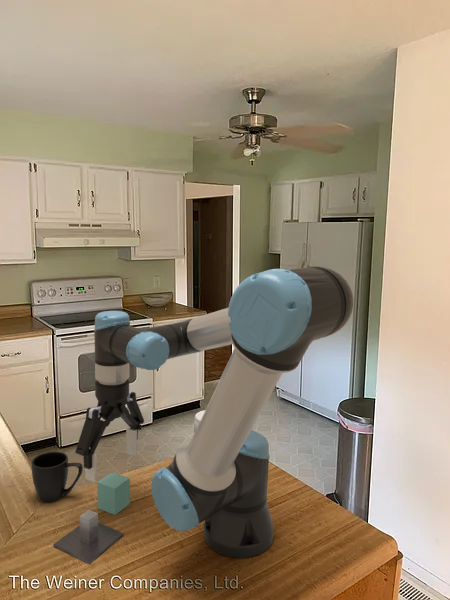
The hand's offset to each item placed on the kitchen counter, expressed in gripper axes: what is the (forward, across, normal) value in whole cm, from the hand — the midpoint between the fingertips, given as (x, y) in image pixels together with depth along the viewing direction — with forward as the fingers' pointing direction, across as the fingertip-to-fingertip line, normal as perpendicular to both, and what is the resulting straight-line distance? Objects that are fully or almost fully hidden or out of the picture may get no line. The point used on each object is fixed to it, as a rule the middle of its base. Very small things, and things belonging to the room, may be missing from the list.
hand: (112, 466), depth 110 cm
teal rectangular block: (+10, 0, +1) cm, 10 cm away
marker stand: (+10, +12, +5) cm, 16 cm away
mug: (+10, +4, -13) cm, 17 cm away
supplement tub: (+10, -28, +11) cm, 31 cm away
